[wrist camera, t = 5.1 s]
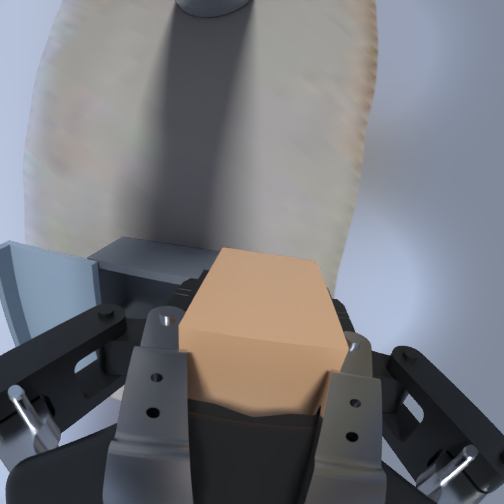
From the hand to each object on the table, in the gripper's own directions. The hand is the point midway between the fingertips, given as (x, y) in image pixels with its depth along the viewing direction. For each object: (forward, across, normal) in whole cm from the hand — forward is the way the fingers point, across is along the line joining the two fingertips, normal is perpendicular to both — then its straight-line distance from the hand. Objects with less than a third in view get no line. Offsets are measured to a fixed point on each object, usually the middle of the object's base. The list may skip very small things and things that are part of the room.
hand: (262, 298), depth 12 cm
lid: (+9, +23, +12) cm, 27 cm away
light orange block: (0, 0, 0) cm, 0 cm away
